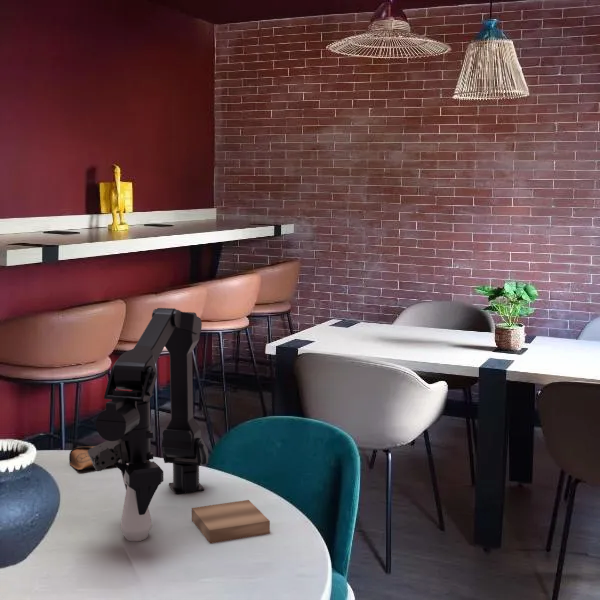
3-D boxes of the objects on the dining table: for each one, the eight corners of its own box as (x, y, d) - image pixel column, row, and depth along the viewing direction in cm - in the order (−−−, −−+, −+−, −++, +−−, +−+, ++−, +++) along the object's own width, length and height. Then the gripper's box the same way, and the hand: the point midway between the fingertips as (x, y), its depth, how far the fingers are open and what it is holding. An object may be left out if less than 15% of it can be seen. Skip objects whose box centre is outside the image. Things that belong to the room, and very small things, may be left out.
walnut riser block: (191, 522, 169) (191, 508, 169) (248, 513, 174) (248, 499, 174) (209, 545, 158) (209, 530, 158) (269, 535, 163) (269, 520, 163)
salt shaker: (148, 543, 158) (147, 476, 156) (118, 543, 158) (116, 476, 156) (154, 531, 164) (153, 466, 162) (124, 530, 164) (123, 465, 162)
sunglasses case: (79, 469, 193) (74, 441, 196) (72, 479, 199) (67, 452, 201) (153, 459, 203) (148, 433, 205) (144, 469, 208) (139, 443, 211)
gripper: (82, 417, 163) (84, 495, 165) (100, 444, 146) (102, 531, 148) (139, 411, 168) (141, 487, 170) (163, 437, 151) (164, 521, 153)
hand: (136, 505), depth 160 cm, fingers open, 9 cm apart
